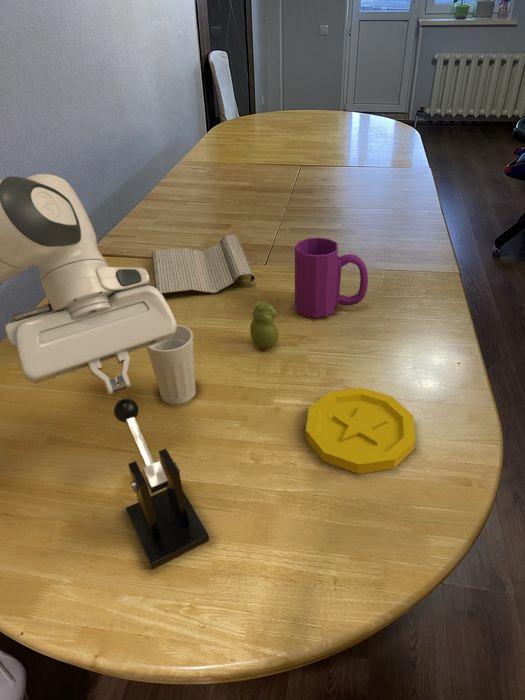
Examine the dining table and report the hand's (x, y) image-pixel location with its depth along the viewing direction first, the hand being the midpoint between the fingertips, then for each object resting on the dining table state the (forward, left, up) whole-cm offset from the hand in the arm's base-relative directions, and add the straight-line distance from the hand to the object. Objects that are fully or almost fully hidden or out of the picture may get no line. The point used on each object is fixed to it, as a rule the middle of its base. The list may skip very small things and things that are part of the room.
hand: (120, 390), depth 68 cm
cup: (+18, +8, -17) cm, 26 cm away
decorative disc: (+25, -24, -17) cm, 39 cm away
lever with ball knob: (-2, -4, -6) cm, 8 cm away
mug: (+57, -3, -17) cm, 59 cm away
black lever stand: (-5, -9, -17) cm, 20 cm away
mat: (+57, +33, -17) cm, 68 cm away
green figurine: (+38, +2, -17) cm, 42 cm away
